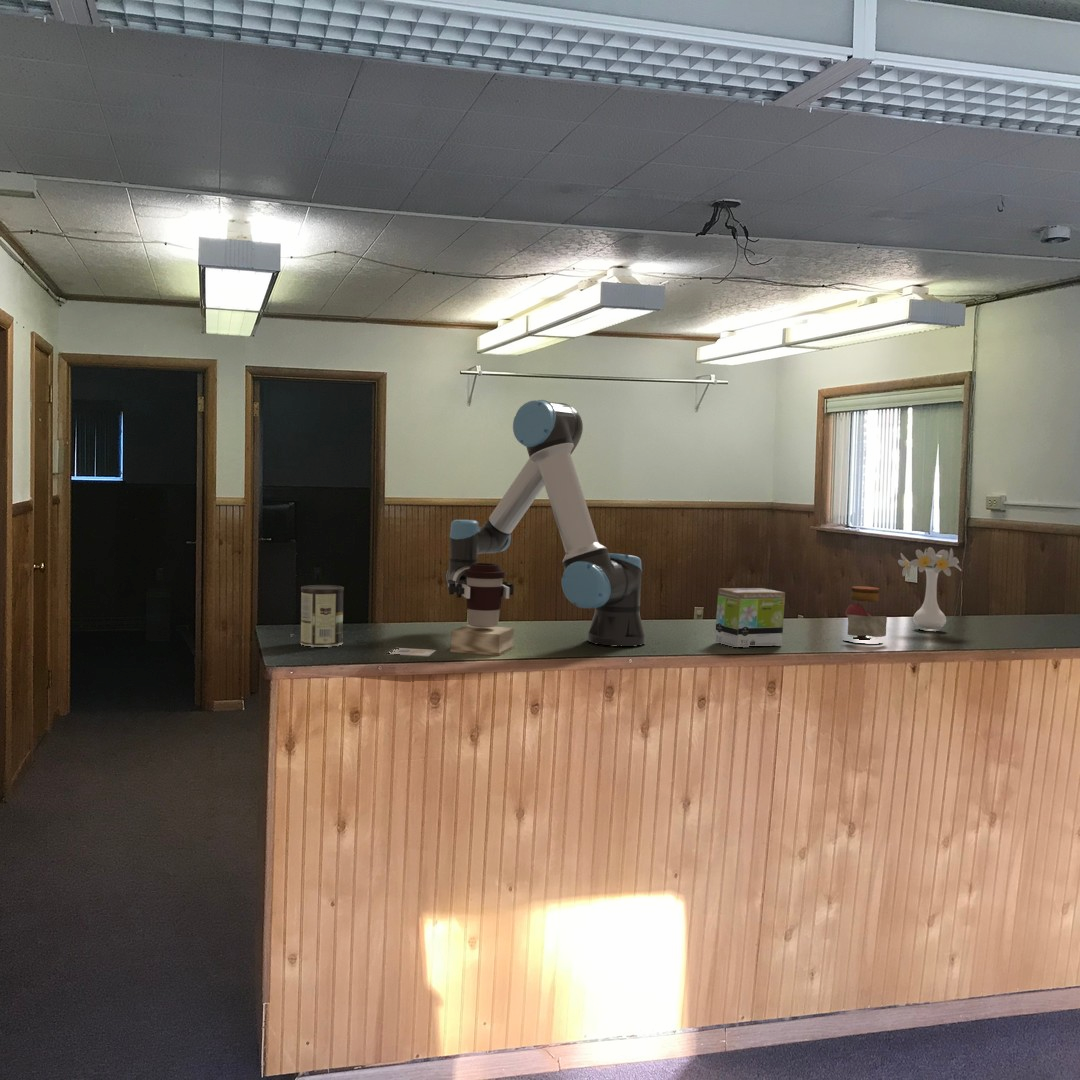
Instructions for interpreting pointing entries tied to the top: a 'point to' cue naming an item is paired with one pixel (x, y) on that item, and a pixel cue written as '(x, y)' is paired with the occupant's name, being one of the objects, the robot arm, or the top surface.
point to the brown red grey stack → (864, 615)
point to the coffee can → (322, 615)
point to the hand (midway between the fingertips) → (488, 593)
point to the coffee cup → (484, 594)
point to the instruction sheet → (413, 652)
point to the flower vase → (930, 584)
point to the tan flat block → (482, 640)
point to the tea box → (749, 617)
